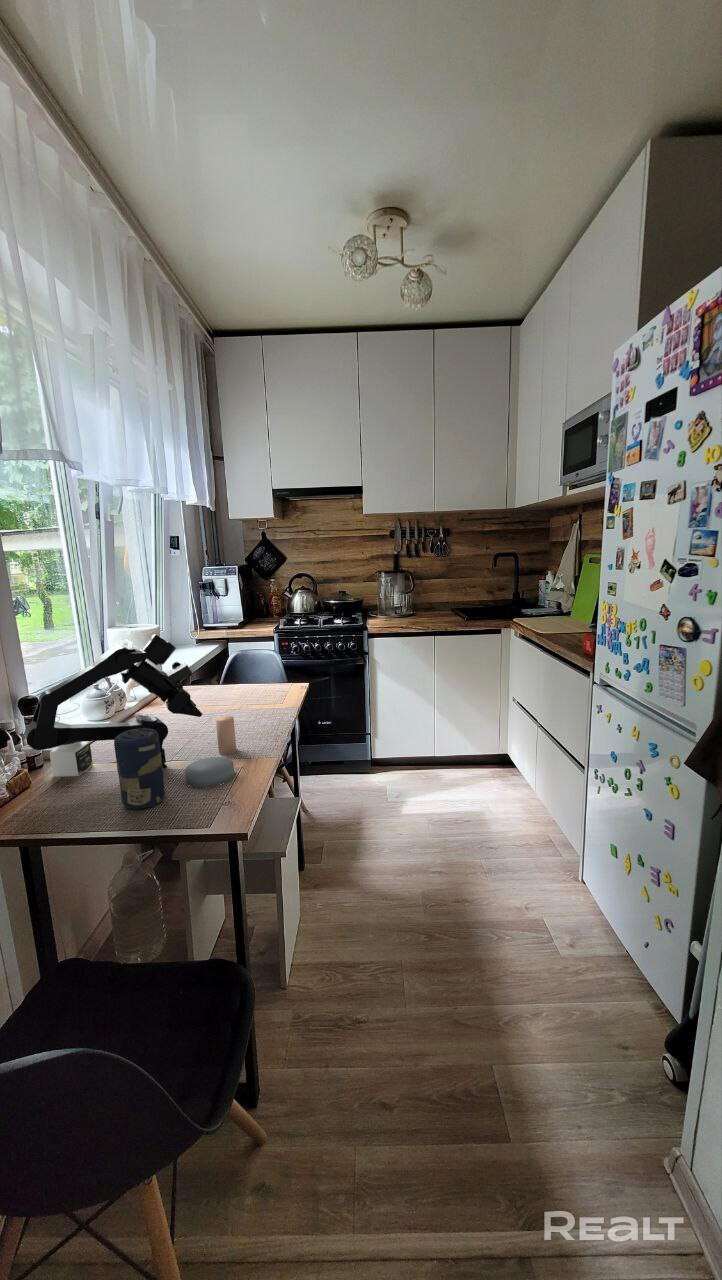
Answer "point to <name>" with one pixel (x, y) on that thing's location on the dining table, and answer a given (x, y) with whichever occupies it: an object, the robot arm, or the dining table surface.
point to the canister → (139, 768)
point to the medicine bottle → (71, 759)
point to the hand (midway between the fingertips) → (198, 711)
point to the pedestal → (209, 772)
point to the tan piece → (226, 735)
